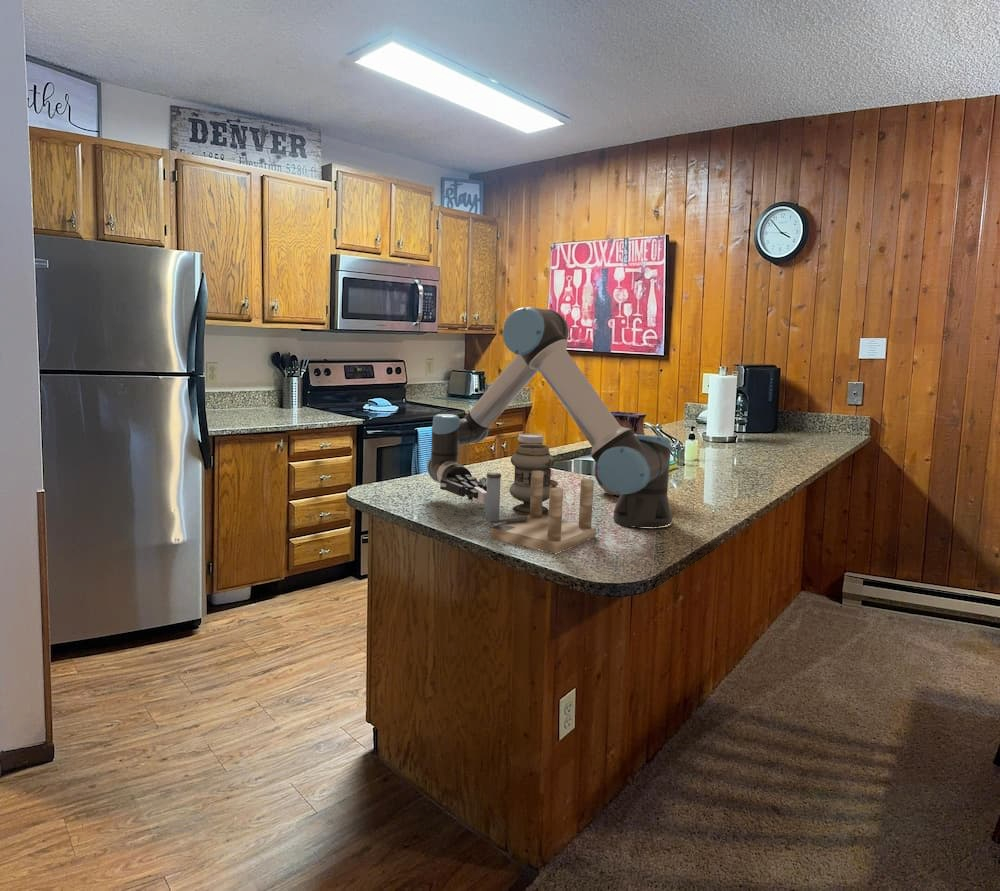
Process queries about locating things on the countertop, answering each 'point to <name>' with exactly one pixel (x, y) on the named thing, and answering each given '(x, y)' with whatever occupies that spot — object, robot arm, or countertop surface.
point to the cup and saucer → (552, 480)
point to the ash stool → (550, 520)
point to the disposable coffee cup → (530, 439)
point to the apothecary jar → (525, 463)
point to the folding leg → (496, 501)
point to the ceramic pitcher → (626, 421)
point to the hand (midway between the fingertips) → (485, 498)
